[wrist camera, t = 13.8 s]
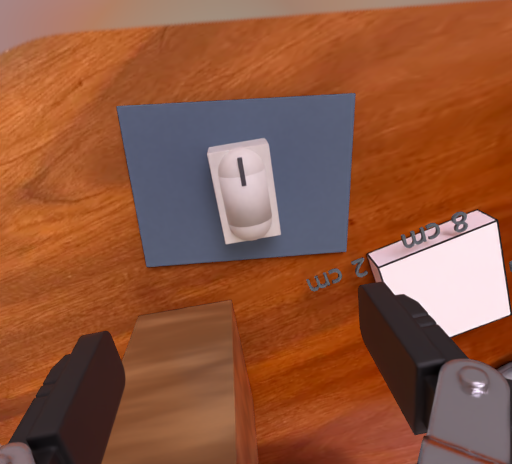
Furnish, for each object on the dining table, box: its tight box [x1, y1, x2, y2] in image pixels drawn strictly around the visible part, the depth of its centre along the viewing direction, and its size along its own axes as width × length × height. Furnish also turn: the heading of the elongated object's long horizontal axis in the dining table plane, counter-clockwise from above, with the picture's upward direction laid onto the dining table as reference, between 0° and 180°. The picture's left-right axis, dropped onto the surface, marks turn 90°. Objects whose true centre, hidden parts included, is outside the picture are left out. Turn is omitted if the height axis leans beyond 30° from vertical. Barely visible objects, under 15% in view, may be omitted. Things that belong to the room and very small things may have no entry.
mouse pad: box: [117, 93, 355, 267], centre depth 27 cm, size 16×12×1 cm
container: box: [307, 209, 512, 338], centre depth 30 cm, size 20×11×3 cm, turn 113°
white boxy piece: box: [207, 138, 281, 244], centre depth 25 cm, size 7×4×4 cm, turn 9°
